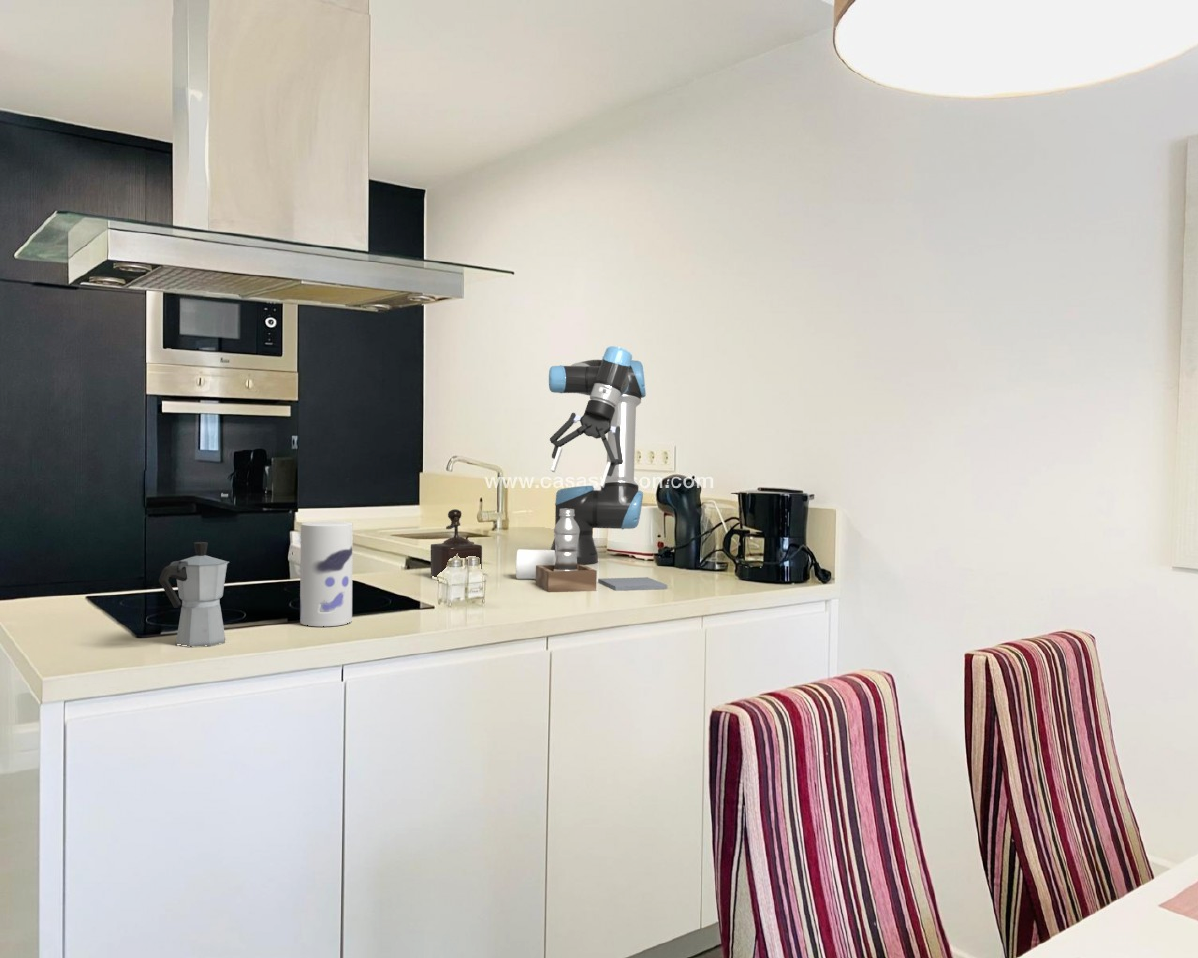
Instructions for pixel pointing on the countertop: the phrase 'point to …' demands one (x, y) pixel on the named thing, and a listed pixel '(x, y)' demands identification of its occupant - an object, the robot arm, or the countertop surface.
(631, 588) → the mat
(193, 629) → the coffee maker
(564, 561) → the plastic bottle
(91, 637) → the countertop surface
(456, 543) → the manual coffee grinder
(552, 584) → the holder
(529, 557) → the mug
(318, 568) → the container
